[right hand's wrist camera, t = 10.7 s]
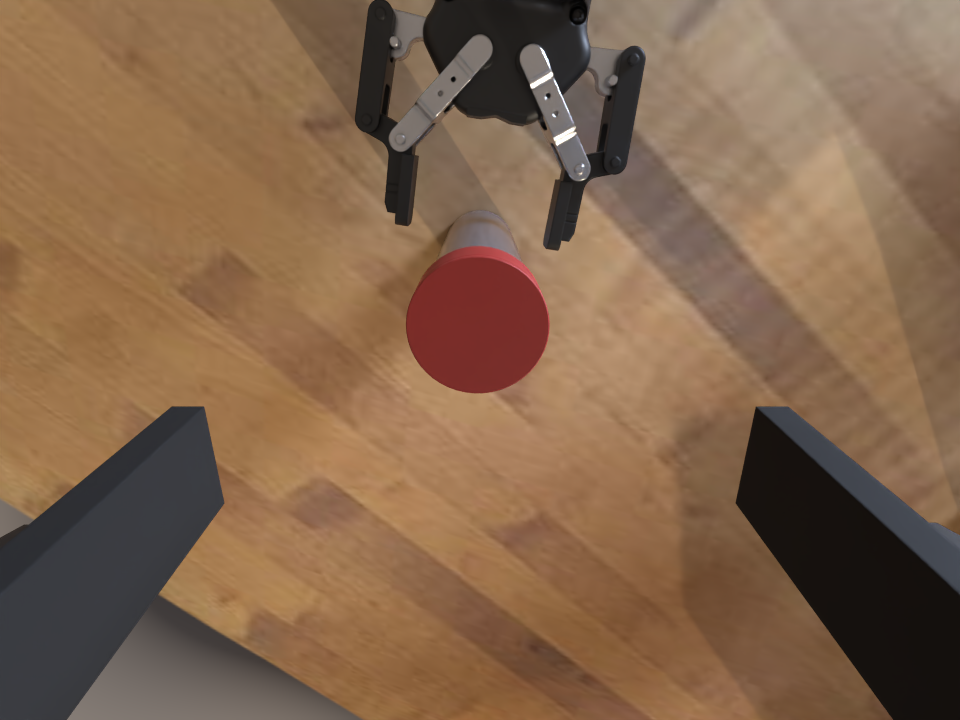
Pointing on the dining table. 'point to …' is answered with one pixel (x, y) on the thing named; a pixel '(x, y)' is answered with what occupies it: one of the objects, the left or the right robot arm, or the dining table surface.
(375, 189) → the dining table surface
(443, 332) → the lid
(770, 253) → the dining table surface
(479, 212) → the grey cylinder
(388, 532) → the dining table surface
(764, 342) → the dining table surface
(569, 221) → the left robot arm
